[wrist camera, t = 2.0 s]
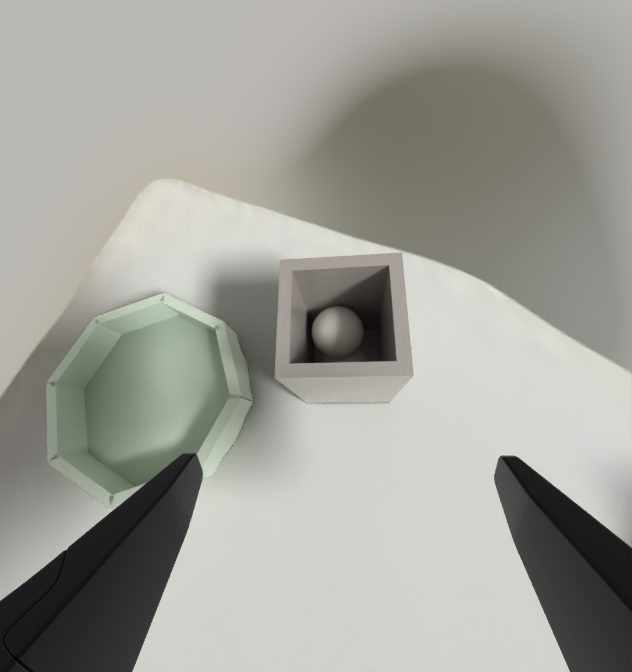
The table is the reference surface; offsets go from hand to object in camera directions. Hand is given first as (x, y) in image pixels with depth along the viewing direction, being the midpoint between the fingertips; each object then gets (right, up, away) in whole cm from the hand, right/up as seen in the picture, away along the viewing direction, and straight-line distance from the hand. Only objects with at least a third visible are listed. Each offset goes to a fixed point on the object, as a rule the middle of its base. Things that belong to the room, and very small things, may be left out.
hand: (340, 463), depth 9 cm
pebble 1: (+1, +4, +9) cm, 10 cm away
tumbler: (+1, +2, +13) cm, 13 cm away
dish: (-12, -1, +14) cm, 18 cm away
